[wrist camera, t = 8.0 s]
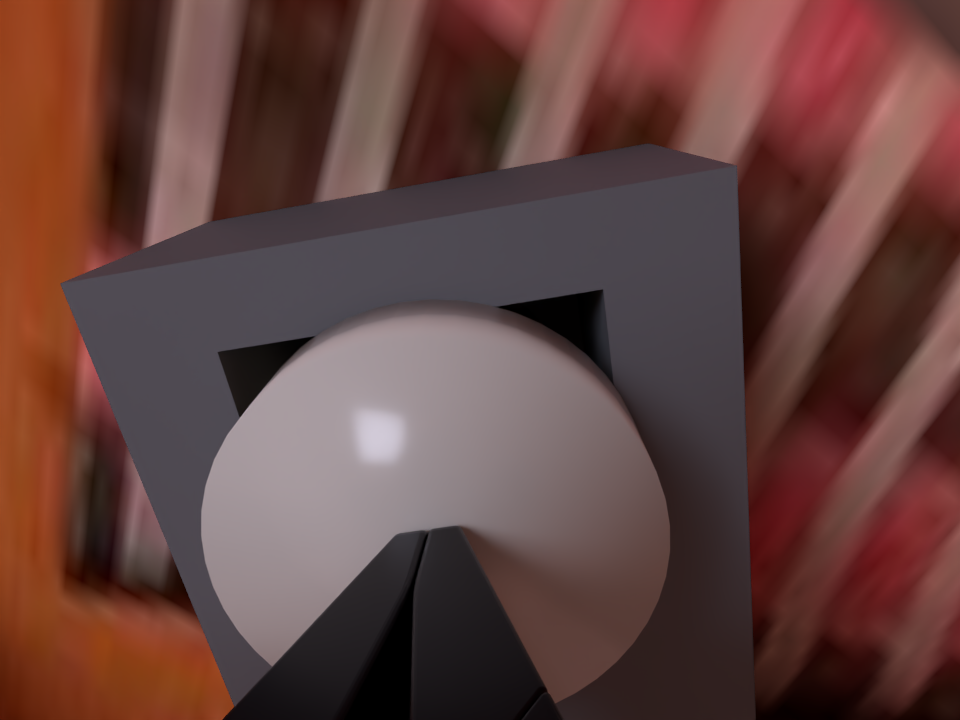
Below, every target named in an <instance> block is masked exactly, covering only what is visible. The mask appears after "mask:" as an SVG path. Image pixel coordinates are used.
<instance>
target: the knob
mask: <svg viewBox="0 0 960 720" xmlns="http://www.w3.org/2000/svg"><path fill="white" fill-rule="evenodd" d="M455 525H456V526H460V527H461V528H462V530H463V532H464V534H465V535H466V537H467V539H468V541H469V543H470V545H471V547H472V549H473V551H474V552H475V554H476V556H477V558H478V560H479V562H480V564H481V566H482V568H483V569H484V571H485V573H486V575H487V577H488V579H489V581H490V583H491V584H492V586H493V588H494V590H495V592H496V594H497V596H498V598H499V600H500V601H501V603H502V605H503V607H504V609H505V611H506V613H507V615H508V616H509V618H510V620H511V622H512V624H513V626H514V628H515V630H516V632H517V633H518V635H519V637H520V639H521V641H522V643H523V645H524V647H525V649H526V650H527V652H528V654H529V656H530V658H531V660H532V662H533V664H534V665H535V667H536V669H537V671H538V673H539V675H540V677H541V679H542V681H543V682H544V684H545V686H546V688H547V690H548V693H549V694H550V695H551V697H552V699H553V700H554V702H555V703H557V702H559V701H561V700H563V699H565V698H567V697H569V696H571V695H573V694H575V693H576V692H578V691H579V690H581V689H582V688H584V687H585V686H587V685H588V684H590V683H591V682H593V681H594V680H596V679H597V678H598V677H600V676H601V675H602V674H603V673H604V672H605V671H607V670H608V669H609V668H610V667H611V666H612V665H614V664H615V663H616V662H617V661H618V660H619V659H620V658H621V656H622V655H623V654H624V653H625V652H626V651H627V650H628V649H629V648H630V647H631V645H632V644H633V643H634V642H635V640H636V639H637V637H638V636H639V634H640V633H641V631H642V630H643V628H644V627H645V626H646V624H647V623H648V621H649V619H650V617H651V615H652V612H653V610H654V608H655V606H656V604H657V602H658V600H659V597H660V594H661V591H662V588H663V585H664V581H665V578H666V574H667V568H668V561H669V555H670V523H669V517H668V511H667V505H666V499H665V496H664V493H663V490H662V487H661V484H660V481H659V478H658V475H657V472H656V470H655V468H654V465H653V463H652V461H651V459H650V456H649V454H648V452H647V450H646V447H645V445H644V443H643V441H642V438H641V436H640V434H639V432H638V429H637V427H636V425H635V423H634V420H633V418H632V416H631V414H630V412H629V410H628V408H627V406H626V405H625V403H624V401H623V399H622V397H621V395H620V394H619V392H618V391H617V389H616V388H615V387H614V385H613V384H612V382H611V381H610V380H609V378H608V377H607V375H606V374H605V373H604V372H603V371H602V370H601V369H600V368H599V367H598V366H597V365H596V364H595V363H594V362H593V361H592V360H591V359H590V358H589V356H588V355H586V354H585V353H584V352H583V351H581V350H580V349H579V348H577V347H576V346H575V345H574V344H572V343H571V342H570V341H569V340H567V339H566V338H564V337H563V336H561V335H559V334H558V333H556V332H554V331H553V330H551V329H549V328H548V327H546V326H544V325H543V324H542V322H541V321H540V320H539V319H538V318H537V317H536V316H535V315H534V314H533V313H532V312H531V311H530V310H529V309H528V308H526V307H525V306H524V305H523V304H521V303H516V304H509V305H503V306H497V307H494V306H491V305H487V304H480V303H474V302H467V301H461V300H435V299H428V300H418V301H407V302H399V303H395V304H390V305H386V306H382V307H377V308H373V309H370V310H367V311H365V312H362V313H360V314H357V315H354V316H352V317H349V318H346V319H344V320H342V321H341V322H339V323H337V324H335V325H333V326H331V327H329V328H328V329H326V330H324V331H322V332H321V333H319V334H318V335H317V336H315V337H314V338H312V339H311V340H310V341H308V342H307V343H306V344H304V345H303V346H302V347H300V348H299V349H298V350H297V351H296V352H295V353H294V354H293V355H292V356H291V357H290V358H289V359H288V360H287V361H286V362H285V363H284V364H283V365H282V366H281V367H280V369H279V370H278V371H277V372H276V374H275V375H274V376H273V377H272V378H271V380H270V381H269V382H268V383H267V385H266V386H265V387H264V388H263V390H262V391H261V392H260V393H259V395H258V396H257V397H256V398H255V400H254V401H253V402H252V403H251V404H250V406H249V407H248V408H247V409H246V411H245V412H244V413H243V415H242V416H241V417H240V419H239V420H238V421H237V423H236V424H235V425H234V427H233V428H232V429H231V431H230V432H229V433H228V435H227V436H226V438H225V440H224V442H223V444H222V446H221V448H220V449H219V451H218V453H217V455H216V457H215V459H214V462H213V465H212V467H211V470H210V473H209V476H208V479H207V482H206V486H205V492H204V498H203V504H202V510H201V538H202V544H203V551H204V557H205V563H206V566H207V569H208V572H209V576H210V579H211V582H212V585H213V588H214V590H215V592H216V594H217V596H218V598H219V600H220V602H221V604H222V606H223V609H224V610H225V612H226V613H227V615H228V616H229V618H230V619H231V621H232V622H233V624H234V626H235V627H236V629H237V630H238V631H239V633H240V634H241V635H242V636H243V637H244V638H245V640H246V641H247V642H248V643H249V644H250V646H251V647H252V648H253V649H254V650H255V651H256V652H257V653H258V654H259V655H260V656H261V657H262V658H263V659H265V660H266V661H267V662H268V663H269V664H270V665H271V666H273V665H274V664H275V663H276V662H277V661H278V660H279V659H280V658H281V656H282V655H283V654H284V653H285V652H286V651H287V650H288V649H289V648H290V647H291V646H292V645H293V644H294V643H295V642H296V640H297V639H298V638H299V637H300V636H301V635H302V634H303V633H304V632H305V631H306V630H307V629H308V628H309V627H310V626H311V624H312V623H313V622H314V621H315V620H316V619H317V618H318V617H319V616H320V615H321V614H322V613H323V612H324V611H325V609H326V608H327V607H328V606H329V605H330V604H331V603H332V602H333V601H334V600H335V599H336V598H337V597H338V596H339V595H340V593H341V592H342V591H343V590H344V589H345V588H346V587H347V586H348V585H349V584H350V583H351V582H352V581H353V580H354V578H355V577H356V576H357V575H358V574H359V573H360V572H361V571H362V570H363V569H364V568H365V567H366V566H367V565H368V564H369V562H370V561H371V560H372V559H373V558H374V557H375V556H376V555H377V554H378V553H379V552H380V551H381V550H382V549H383V547H384V546H385V545H386V544H387V543H388V542H389V541H390V540H391V539H392V538H393V537H394V536H395V535H396V534H399V533H405V532H412V531H420V530H425V531H427V532H428V533H429V531H430V530H431V529H434V528H441V527H448V526H455Z"/></svg>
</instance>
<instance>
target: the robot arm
mask: <svg viewBox="0 0 960 720" xmlns="http://www.w3.org/2000/svg"><path fill="white" fill-rule="evenodd" d="M223 720H564V719H563V717H562V715H561V713H560V712H559V710H558V708H557V706H556V704H555V702H554V700H553V699H552V697H551V695H550V694H549V693H548V690H547V688H546V686H545V684H544V682H543V681H542V679H541V677H540V675H539V673H538V671H537V669H536V667H535V665H534V664H533V662H532V660H531V658H530V656H529V654H528V652H527V650H526V649H525V647H524V645H523V643H522V641H521V639H520V637H519V635H518V633H517V632H516V630H515V628H514V626H513V624H512V622H511V620H510V618H509V616H508V615H507V613H506V611H505V609H504V607H503V605H502V603H501V601H500V600H499V598H498V596H497V594H496V592H495V590H494V588H493V586H492V584H491V583H490V581H489V579H488V577H487V575H486V573H485V571H484V569H483V568H482V566H481V564H480V562H479V560H478V558H477V556H476V554H475V552H474V551H473V549H472V547H471V545H470V543H469V541H468V539H467V537H466V535H465V534H464V532H463V530H462V528H461V527H460V526H456V525H455V526H448V527H441V528H434V529H431V530H430V531H429V533H428V532H427V531H425V530H420V531H412V532H405V533H399V534H396V535H395V536H394V537H393V538H392V539H391V540H390V541H389V542H388V543H387V544H386V545H385V546H384V547H383V549H382V550H381V551H380V552H379V553H378V554H377V555H376V556H375V557H374V558H373V559H372V560H371V561H370V562H369V564H368V565H367V566H366V567H365V568H364V569H363V570H362V571H361V572H360V573H359V574H358V575H357V576H356V577H355V578H354V580H353V581H352V582H351V583H350V584H349V585H348V586H347V587H346V588H345V589H344V590H343V591H342V592H341V593H340V595H339V596H338V597H337V598H336V599H335V600H334V601H333V602H332V603H331V604H330V605H329V606H328V607H327V608H326V609H325V611H324V612H323V613H322V614H321V615H320V616H319V617H318V618H317V619H316V620H315V621H314V622H313V623H312V624H311V626H310V627H309V628H308V629H307V630H306V631H305V632H304V633H303V634H302V635H301V636H300V637H299V638H298V639H297V640H296V642H295V643H294V644H293V645H292V646H291V647H290V648H289V649H288V650H287V651H286V652H285V653H284V654H283V655H282V656H281V658H280V659H279V660H278V661H277V662H276V663H275V664H274V665H273V666H272V667H271V668H270V669H269V670H268V671H267V673H266V674H265V675H264V676H263V677H262V678H261V679H260V680H259V681H258V682H257V683H256V684H255V685H254V686H253V687H252V689H251V690H250V691H249V692H248V693H247V694H246V695H245V696H244V697H243V698H242V699H241V700H240V701H239V702H238V704H237V705H236V706H235V707H234V708H233V709H232V710H231V711H230V712H229V713H228V714H227V715H226V716H225V717H224V718H223Z"/></svg>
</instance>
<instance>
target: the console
mask: <svg viewBox="0 0 960 720" xmlns="http://www.w3.org/2000/svg"><path fill="white" fill-rule="evenodd" d="M60 284H61V287H62V289H63V291H64V294H65V296H66V299H67V301H68V304H69V306H70V308H71V311H72V313H73V316H74V318H75V321H76V323H77V325H78V328H79V330H80V333H81V335H82V338H83V340H84V342H85V345H86V347H87V350H88V352H89V355H90V357H91V359H92V362H93V364H94V367H95V369H96V372H97V374H98V376H99V379H100V381H101V384H102V386H103V389H104V391H105V393H106V396H107V398H108V401H109V403H110V406H111V408H112V410H113V413H114V415H115V418H116V420H117V423H118V425H119V427H120V430H121V432H122V435H123V437H124V439H125V442H126V444H127V447H128V449H129V452H130V454H131V456H132V459H133V461H134V464H135V466H136V469H137V471H138V473H139V476H140V478H141V481H142V483H143V486H144V488H145V490H146V493H147V495H148V498H149V500H150V503H151V505H152V507H153V510H154V512H155V515H156V517H157V520H158V522H159V524H160V527H161V529H162V532H163V534H164V537H165V539H166V541H167V544H168V546H169V549H170V551H171V554H172V556H173V558H174V561H175V563H176V566H177V568H178V571H179V573H180V575H181V578H182V580H183V583H184V585H185V588H186V590H187V592H188V595H189V597H190V600H191V602H192V605H193V607H194V609H195V612H196V614H197V617H198V619H199V622H200V624H201V626H202V629H203V631H204V634H205V636H206V639H207V641H208V643H209V646H210V648H211V651H212V653H213V656H214V658H215V660H216V663H217V665H218V668H219V670H220V673H221V675H222V677H223V680H224V682H225V685H226V687H227V690H228V692H229V694H230V697H231V699H232V702H233V704H234V707H235V706H236V705H237V704H238V702H239V701H240V700H241V699H242V698H243V697H244V696H245V695H246V694H247V693H248V692H249V691H250V690H251V689H252V687H253V686H254V685H255V684H256V683H257V682H258V681H259V680H260V679H261V678H262V677H263V676H264V675H265V674H266V673H267V671H268V670H269V669H270V668H271V667H272V666H271V665H270V664H269V663H268V662H267V661H266V660H265V659H263V658H262V657H261V656H260V655H259V654H258V653H257V652H256V651H255V650H254V649H253V648H252V647H251V646H250V644H249V643H248V642H247V641H246V640H245V638H244V637H243V636H242V635H241V634H240V633H239V631H238V630H237V629H236V627H235V626H234V624H233V622H232V621H231V619H230V618H229V616H228V615H227V613H226V612H225V610H224V609H223V606H222V604H221V602H220V600H219V598H218V596H217V594H216V592H215V590H214V588H213V585H212V582H211V579H210V576H209V572H208V569H207V566H206V563H205V557H204V551H203V544H202V538H201V510H202V504H203V498H204V492H205V486H206V482H207V479H208V476H209V473H210V470H211V467H212V465H213V462H214V459H215V457H216V455H217V453H218V451H219V449H220V448H221V446H222V444H223V442H224V440H225V438H226V436H227V435H228V433H229V432H230V431H231V429H232V428H233V427H234V425H235V424H236V423H237V421H238V420H239V419H240V417H241V416H242V415H243V413H244V412H245V411H246V409H247V408H248V407H249V406H250V404H251V403H252V402H253V401H254V400H255V398H256V397H257V396H258V395H259V393H260V392H261V391H262V390H263V388H264V387H265V386H266V385H267V383H268V382H269V381H270V380H271V378H272V377H273V376H274V375H275V374H276V372H277V371H278V370H279V369H280V367H281V366H282V365H283V364H284V363H285V362H286V361H287V360H288V359H289V358H290V357H291V356H292V355H293V354H294V353H295V352H296V351H297V350H298V349H299V348H300V347H302V346H303V345H304V344H306V343H307V342H308V341H310V340H311V339H312V338H314V337H315V336H317V335H318V334H319V333H321V332H322V331H324V330H326V329H328V328H329V327H331V326H333V325H335V324H337V323H339V322H341V321H342V320H344V319H346V318H349V317H352V316H354V315H357V314H360V313H362V312H365V311H367V310H370V309H373V308H377V307H382V306H386V305H390V304H395V303H399V302H407V301H418V300H428V299H435V300H461V301H467V302H474V303H480V304H487V305H491V306H494V307H497V306H503V305H509V304H516V303H521V304H523V305H524V306H525V307H526V308H528V309H529V310H530V311H531V312H532V313H533V314H534V315H535V316H536V317H537V318H538V319H539V320H540V321H541V322H542V324H543V325H544V326H546V327H548V328H549V329H551V330H553V331H554V332H556V333H558V334H559V335H561V336H563V337H564V338H566V339H567V340H569V341H570V342H571V343H572V344H574V345H575V346H576V347H577V348H579V349H580V350H581V351H583V352H584V353H585V354H586V355H588V356H589V358H590V359H591V360H592V361H593V362H594V363H595V364H596V365H597V366H598V367H599V368H600V369H601V370H602V371H603V372H604V373H605V374H606V375H607V377H608V378H609V380H610V381H611V382H612V384H613V385H614V387H615V388H616V389H617V391H618V392H619V394H620V395H621V397H622V399H623V401H624V403H625V405H626V406H627V408H628V410H629V412H630V414H631V416H632V418H633V420H634V423H635V425H636V427H637V429H638V432H639V434H640V436H641V438H642V441H643V443H644V445H645V447H646V450H647V452H648V454H649V456H650V459H651V461H652V463H653V465H654V468H655V470H656V472H657V475H658V478H659V481H660V484H661V487H662V490H663V493H664V496H665V499H666V505H667V511H668V517H669V523H670V555H669V561H668V568H667V574H666V578H665V581H664V585H663V588H662V591H661V594H660V597H659V600H658V602H657V604H656V606H655V608H654V610H653V612H652V615H651V617H650V619H649V621H648V623H647V624H646V626H645V627H644V628H643V630H642V631H641V633H640V634H639V636H638V637H637V639H636V640H635V642H634V643H633V644H632V645H631V647H630V648H629V649H628V650H627V651H626V652H625V653H624V654H623V655H622V656H621V658H620V659H619V660H618V661H617V662H616V663H615V664H614V665H612V666H611V667H610V668H609V669H608V670H607V671H605V672H604V673H603V674H602V675H601V676H600V677H598V678H597V679H596V680H594V681H593V682H591V683H590V684H588V685H587V686H585V687H584V688H582V689H581V690H579V691H578V692H576V693H575V694H573V695H571V696H569V697H567V698H565V699H563V700H561V701H559V702H557V703H555V704H556V706H557V708H558V710H559V712H560V713H561V715H562V717H563V719H564V720H756V713H755V683H754V654H753V624H752V595H751V566H750V536H749V507H748V478H747V448H746V419H745V390H744V360H743V331H742V302H741V272H740V243H739V213H738V184H737V166H736V165H732V164H728V163H724V162H720V161H716V160H712V159H708V158H704V157H700V156H696V155H692V154H688V153H684V152H680V151H676V150H672V149H668V148H665V147H661V146H657V145H653V144H643V145H637V146H632V147H626V148H621V149H615V150H609V151H604V152H598V153H593V154H587V155H581V156H576V157H570V158H565V159H559V160H553V161H548V162H542V163H537V164H531V165H525V166H520V167H514V168H509V169H503V170H497V171H492V172H486V173H481V174H475V175H470V176H464V177H458V178H453V179H447V180H442V181H436V182H430V183H425V184H419V185H414V186H408V187H402V188H397V189H391V190H386V191H380V192H374V193H369V194H363V195H358V196H352V197H346V198H341V199H335V200H330V201H324V202H318V203H313V204H307V205H302V206H296V207H290V208H285V209H279V210H274V211H268V212H262V213H257V214H251V215H246V216H240V217H234V218H229V219H223V220H218V221H212V222H208V223H205V224H203V225H201V226H198V227H196V228H193V229H191V230H188V231H186V232H184V233H181V234H179V235H176V236H174V237H172V238H169V239H167V240H164V241H162V242H159V243H157V244H155V245H152V246H150V247H147V248H145V249H143V250H140V251H138V252H135V253H133V254H130V255H128V256H126V257H123V258H121V259H118V260H116V261H114V262H111V263H109V264H106V265H104V266H102V267H99V268H97V269H94V270H92V271H89V272H87V273H85V274H82V275H80V276H77V277H75V278H73V279H70V280H68V281H65V282H63V283H60Z"/></svg>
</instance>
